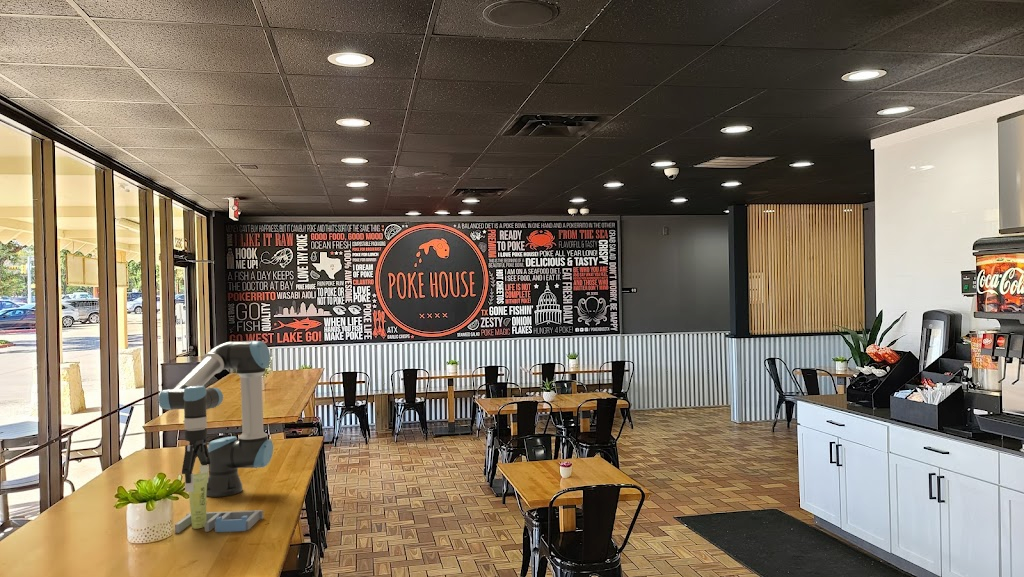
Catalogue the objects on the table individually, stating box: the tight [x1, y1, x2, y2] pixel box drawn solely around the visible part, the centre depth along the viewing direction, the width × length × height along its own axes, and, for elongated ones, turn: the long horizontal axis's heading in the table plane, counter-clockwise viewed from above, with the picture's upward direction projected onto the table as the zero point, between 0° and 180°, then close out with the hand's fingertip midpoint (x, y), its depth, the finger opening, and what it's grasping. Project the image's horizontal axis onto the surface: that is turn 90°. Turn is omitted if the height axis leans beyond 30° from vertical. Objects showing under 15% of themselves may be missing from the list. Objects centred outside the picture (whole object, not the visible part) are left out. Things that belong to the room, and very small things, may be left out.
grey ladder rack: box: [174, 509, 264, 534], centre depth 273 cm, size 15×28×5 cm, turn 92°
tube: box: [188, 472, 209, 530], centre depth 272 cm, size 6×5×20 cm
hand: (197, 487), depth 272 cm, fingers open, 13 cm apart
